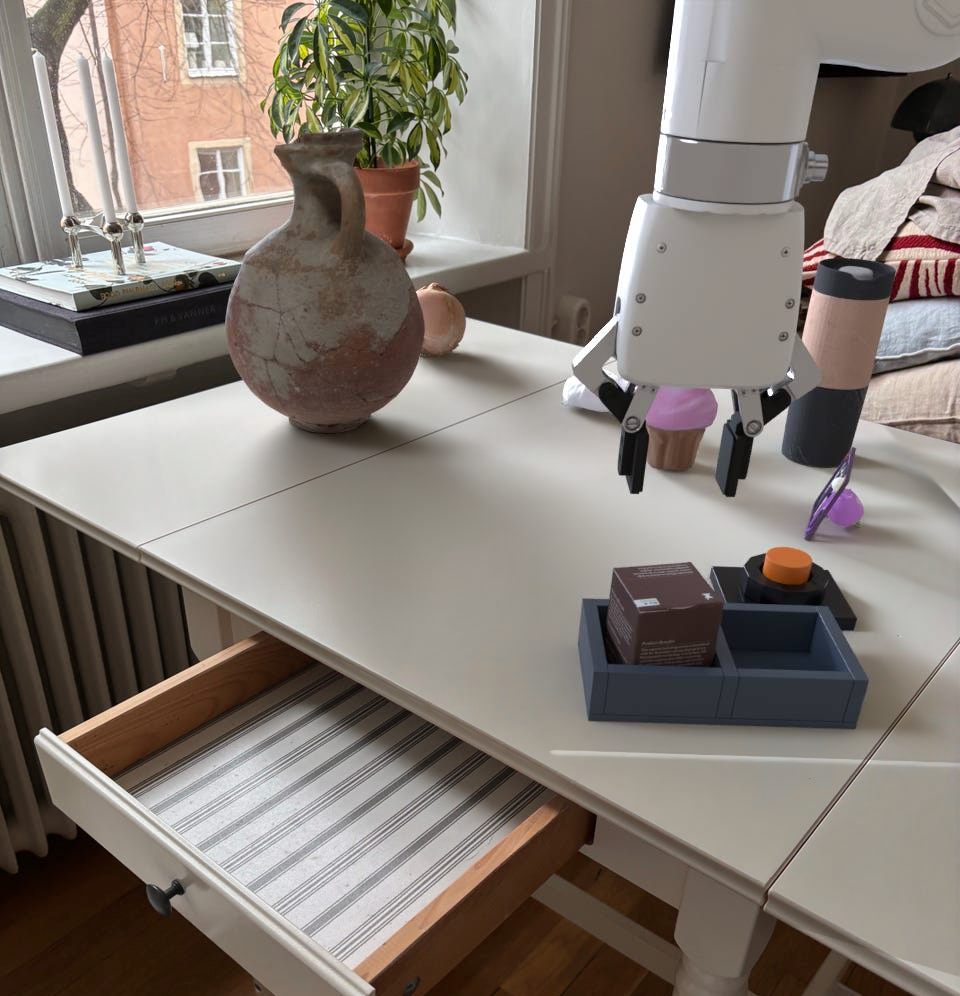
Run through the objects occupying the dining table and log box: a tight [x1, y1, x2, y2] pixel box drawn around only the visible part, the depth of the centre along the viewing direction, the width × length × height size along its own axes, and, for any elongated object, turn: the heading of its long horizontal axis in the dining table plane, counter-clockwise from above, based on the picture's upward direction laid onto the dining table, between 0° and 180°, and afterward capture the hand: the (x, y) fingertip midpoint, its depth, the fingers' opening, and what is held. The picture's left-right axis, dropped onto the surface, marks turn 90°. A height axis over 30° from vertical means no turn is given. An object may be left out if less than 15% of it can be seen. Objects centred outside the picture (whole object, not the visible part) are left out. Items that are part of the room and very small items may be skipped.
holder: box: [577, 597, 870, 730], centre depth 70 cm, size 18×10×4 cm, turn 89°
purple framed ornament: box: [804, 446, 865, 542], centre depth 92 cm, size 7×5×9 cm
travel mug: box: [781, 257, 897, 468], centre depth 104 cm, size 8×8×20 cm
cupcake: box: [645, 387, 719, 471], centre depth 103 cm, size 9×9×10 cm
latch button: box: [762, 546, 813, 585], centre depth 79 cm, size 4×4×2 cm
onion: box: [415, 282, 467, 358], centre depth 134 cm, size 10×9×10 cm
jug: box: [224, 127, 425, 434], centre depth 106 cm, size 22×22×30 cm
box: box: [604, 561, 724, 667], centre depth 69 cm, size 6×6×7 cm
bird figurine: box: [561, 369, 628, 413], centre depth 117 cm, size 5×7×10 cm
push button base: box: [709, 552, 858, 632], centre depth 81 cm, size 10×8×3 cm
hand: (679, 484), depth 63 cm, fingers open, 5 cm apart
